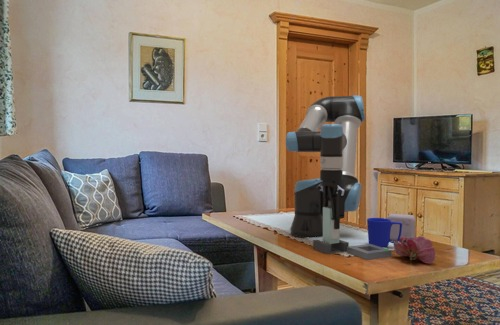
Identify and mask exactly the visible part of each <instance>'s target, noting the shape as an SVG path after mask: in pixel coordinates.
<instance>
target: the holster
mask: <svg viewBox="0 0 500 325" xmlns="http://www.w3.org/2000/svg"><path fill="white" fill-rule="evenodd" d="M348 246H350V245H349V242H348V241H345V240H341V239H339V243H334V244H328V243H326V242H323V240H320V239H313V240H312V249H313V250H316V251H318V252H320V253H322V254H323V253H324V254H325V255H332V254H340V253H347V247H348Z"/></svg>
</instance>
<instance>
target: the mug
mask: <svg viewBox="0 0 500 325" xmlns="http://www.w3.org/2000/svg"><path fill="white" fill-rule="evenodd" d="M366 223H367V224H366V225H367V237H368V240H367V241H368V244H372V245H375V246H379V247H382V248H387V249H388V246H389V244H390V243H391V244H394V240H390V231H391V226H392V225H393V224H399V225H400V230H399V236H398V239H397V241H398V242H399V239H400V237H401V231H402V223H400V222H391V220H389V219H387V218H384V217H368V218H367V219H366Z"/></svg>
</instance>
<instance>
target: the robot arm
mask: <svg viewBox="0 0 500 325" xmlns="http://www.w3.org/2000/svg"><path fill="white" fill-rule="evenodd" d="M364 106H365V105H364V99H363V97H362V96H361V95H355V94H354V95H353V94H351V95H342V96H341V95H340V96H339V95H337V96H324V97H322V98H320V99H318V100H316V101H314V102H313V103H312V104H310V106H309V107H308V108H307V110H306V113H305V117H304V119H303V121H302V122H301V123H300V125H299V126H298V128H297V130H296V131H294V130H293V131H289V132H287V134H286V136H285V147H286V150H287V151H288V152H295V153H299V152H302V153H304V152H306V153H308V152H309V153H310V152H312V153H313V152H315V153H317V152H320V169H321V170H320V172H319V178H312V179H311V178H310V179H303V180H302V179H301V180H299V181H296V183H295V185H294V192H293V193H294V216H293V220H292V223H291V226H290V229H289V230H290V236H293V237H298V238H304V237H309V238H321V237H322V238H323V207H328V200H331V206H332V215H333V218H331V239H336V238H339V239H340V227H341V226H340V224H341V221H340V220H341V219H344V218H345V213H346V212H356V211H357V210H358V209H359V207H360V202H361V196H362V183H361V182H359V179H358V177H357V176H355V173H356V171H355V170H356V157H357V156H356V153H357V142H358V141H357V140H358V139H357V138H358V129H359V128H360V127H361V125H362V123H363V122H365V121H366V117H365V116H366V115H365V107H364ZM319 130H320V131H319ZM309 238H308V239H309Z"/></svg>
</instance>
